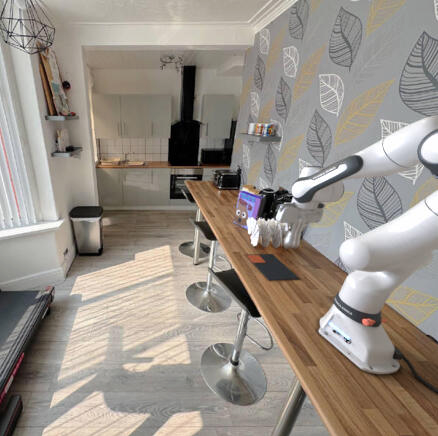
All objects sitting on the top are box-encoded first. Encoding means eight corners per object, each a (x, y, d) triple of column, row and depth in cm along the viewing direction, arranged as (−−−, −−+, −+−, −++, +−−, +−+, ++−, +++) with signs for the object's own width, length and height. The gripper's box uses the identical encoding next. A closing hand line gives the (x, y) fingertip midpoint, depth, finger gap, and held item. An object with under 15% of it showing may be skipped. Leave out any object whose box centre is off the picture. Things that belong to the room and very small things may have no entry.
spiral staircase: (288, 256, 140) (246, 251, 141) (279, 233, 152) (241, 228, 152) (305, 238, 127) (259, 233, 127) (295, 214, 138) (252, 209, 139)
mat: (299, 279, 114) (299, 278, 113) (268, 280, 112) (269, 279, 111) (272, 254, 134) (272, 253, 133) (245, 255, 132) (245, 254, 131)
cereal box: (233, 222, 174) (239, 191, 164) (237, 221, 176) (244, 190, 166) (252, 232, 160) (260, 198, 150) (257, 231, 162) (265, 198, 152)
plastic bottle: (300, 251, 108) (313, 210, 101) (284, 249, 109) (296, 209, 102) (295, 245, 114) (306, 206, 107) (280, 243, 115) (290, 204, 108)
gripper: (286, 204, 99) (278, 234, 105) (329, 204, 102) (319, 233, 107) (277, 200, 105) (269, 228, 110) (318, 200, 108) (308, 227, 113)
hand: (294, 230), depth 109 cm, fingers closed on plastic bottle, 5 cm apart
